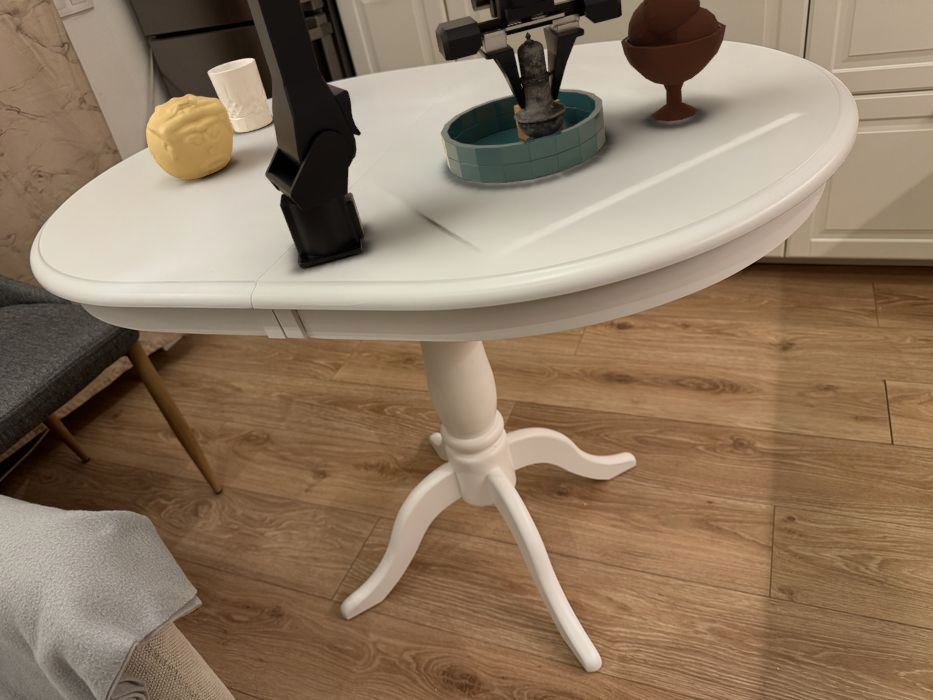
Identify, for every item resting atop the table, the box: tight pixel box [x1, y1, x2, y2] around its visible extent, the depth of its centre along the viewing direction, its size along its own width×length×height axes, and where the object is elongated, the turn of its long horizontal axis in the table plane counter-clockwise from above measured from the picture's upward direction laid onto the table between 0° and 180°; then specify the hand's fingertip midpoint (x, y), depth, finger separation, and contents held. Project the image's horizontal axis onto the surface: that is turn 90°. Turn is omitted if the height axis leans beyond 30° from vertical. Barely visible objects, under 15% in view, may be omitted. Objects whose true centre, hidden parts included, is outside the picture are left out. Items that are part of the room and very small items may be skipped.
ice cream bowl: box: [620, 0, 727, 123], centre depth 77 cm, size 11×11×15 cm
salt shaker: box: [514, 31, 566, 141], centre depth 76 cm, size 6×6×12 cm
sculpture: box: [145, 93, 235, 180], centre depth 100 cm, size 12×12×11 cm
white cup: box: [207, 57, 274, 133], centre depth 116 cm, size 8×8×10 cm
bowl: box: [440, 88, 606, 184], centre depth 81 cm, size 19×19×4 cm
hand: (538, 103), depth 77 cm, fingers closed on salt shaker, 3 cm apart
